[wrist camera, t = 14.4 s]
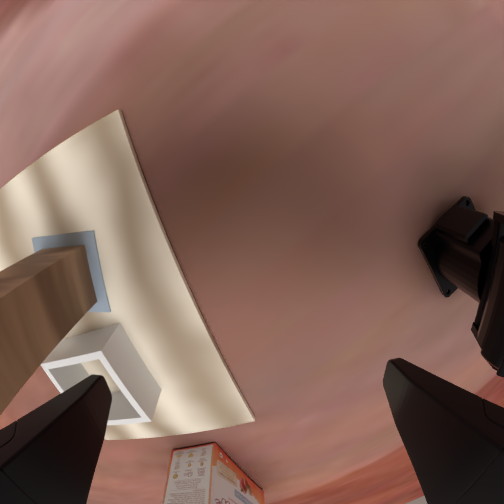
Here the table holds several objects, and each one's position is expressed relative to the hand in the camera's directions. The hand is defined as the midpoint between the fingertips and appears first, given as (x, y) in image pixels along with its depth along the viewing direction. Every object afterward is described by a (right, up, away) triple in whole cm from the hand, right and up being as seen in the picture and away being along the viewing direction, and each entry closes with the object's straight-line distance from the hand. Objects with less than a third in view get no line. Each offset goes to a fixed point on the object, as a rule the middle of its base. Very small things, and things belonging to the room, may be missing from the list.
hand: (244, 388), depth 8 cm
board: (-13, -2, +14) cm, 19 cm away
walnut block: (-14, +2, +12) cm, 18 cm away
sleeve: (-12, -6, +14) cm, 20 cm away
